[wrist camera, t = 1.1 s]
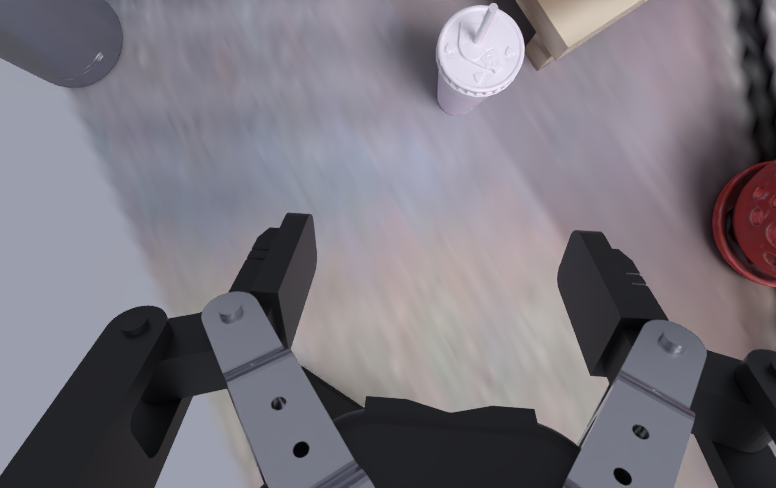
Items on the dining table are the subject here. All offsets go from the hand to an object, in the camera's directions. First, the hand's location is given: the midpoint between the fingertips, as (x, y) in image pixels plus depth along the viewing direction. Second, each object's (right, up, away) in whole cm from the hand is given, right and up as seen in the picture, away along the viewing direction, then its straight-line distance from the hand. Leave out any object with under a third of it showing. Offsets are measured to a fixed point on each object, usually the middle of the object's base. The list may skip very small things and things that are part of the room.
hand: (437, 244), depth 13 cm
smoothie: (+5, +14, +27) cm, 30 cm away
